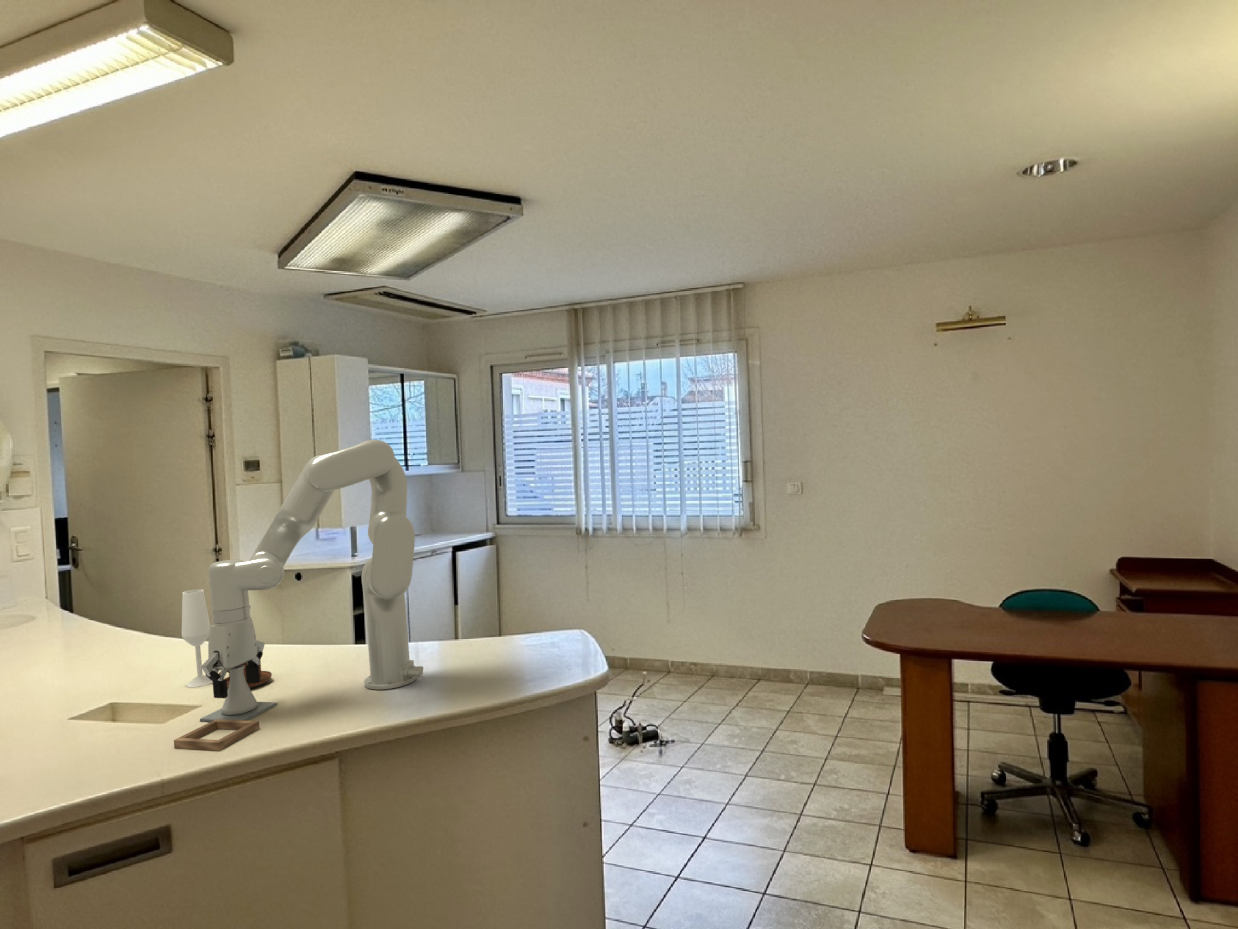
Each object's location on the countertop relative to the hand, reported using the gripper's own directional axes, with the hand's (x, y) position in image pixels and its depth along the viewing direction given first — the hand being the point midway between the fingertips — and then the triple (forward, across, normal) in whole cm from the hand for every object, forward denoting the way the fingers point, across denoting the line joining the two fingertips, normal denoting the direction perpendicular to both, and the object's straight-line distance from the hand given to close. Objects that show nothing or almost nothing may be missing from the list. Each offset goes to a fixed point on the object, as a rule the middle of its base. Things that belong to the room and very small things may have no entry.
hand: (237, 690), depth 166 cm
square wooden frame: (+5, +13, +6) cm, 15 cm away
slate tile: (+5, 0, 0) cm, 5 cm away
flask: (+5, 0, 0) cm, 5 cm away
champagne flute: (+6, -18, -28) cm, 34 cm away
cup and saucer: (+6, -17, -14) cm, 23 cm away
